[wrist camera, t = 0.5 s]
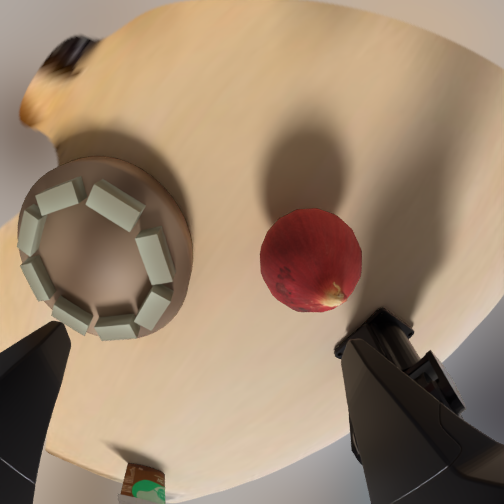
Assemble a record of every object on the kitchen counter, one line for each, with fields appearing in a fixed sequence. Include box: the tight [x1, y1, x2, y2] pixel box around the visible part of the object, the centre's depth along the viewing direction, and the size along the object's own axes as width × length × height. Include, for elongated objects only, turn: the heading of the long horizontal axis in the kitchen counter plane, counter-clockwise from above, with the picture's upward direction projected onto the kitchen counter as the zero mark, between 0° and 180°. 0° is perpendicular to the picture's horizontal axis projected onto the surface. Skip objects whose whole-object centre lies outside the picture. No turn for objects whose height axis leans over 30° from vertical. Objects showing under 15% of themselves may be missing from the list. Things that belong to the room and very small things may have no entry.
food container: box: [118, 463, 165, 504], centre depth 37 cm, size 12×6×10 cm, turn 19°
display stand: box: [17, 156, 193, 341], centre depth 18 cm, size 14×14×3 cm
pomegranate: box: [260, 208, 362, 312], centre depth 16 cm, size 6×6×8 cm
